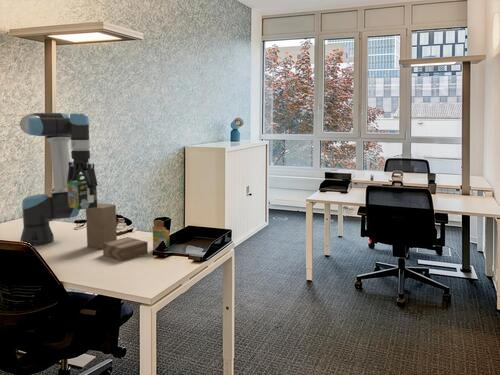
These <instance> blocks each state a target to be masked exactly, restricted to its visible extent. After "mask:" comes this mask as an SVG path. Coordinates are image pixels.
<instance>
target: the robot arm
mask: <svg viewBox="0 0 500 375" xmlns="http://www.w3.org/2000/svg"><path fill="white" fill-rule="evenodd" d="M19 125H20V129H21V130H22V132H23V133H25V134H27V135H30V136H35V137H45V138H46V141H47V142H48V143H49V146H50V156H51V157H50V158H51V167H52V180H53V190H52V192H51V193H50V194H51V196H49V195H48V194H46V193H41V194H40V193H39V194H33V195H29V196H27V197H25V198H23V199H22V202H21V204H22V205H21V209H22V222H23V229H22V233H21V235H20V242H21V241H23V242H27V243H30V244H31V245H30V246H40V245H41V246H42V245H47V244H50V243H52V242H53V241H54V240H55V237H54V233H53V231H52V229H51V226H50V221H52V220H63V219H70V218H76V217H78V215H79V214H80V210H78V209H74V208H70V207H69V206H68V190H67V182H69V181H76V180H77V177H78V174H83V175H84V176H83V178H85V180H86V182H87V185H88V187H87V201H88V203H92V202H94V187H95V186H96V187H98V186H99V184H98V180H97V177H96V171H95V163H93V162H92V163H91V162H90V161H89V160H90V159H91V150H90V148H91V145H90V144H91V142H90V120H89V115H88V114H87V113H78V112H77V113H70V114H68V113H62V112H34V113H30V114H29V113H28V114H26V115H25V116H22V118H21V119H20V122H19ZM69 141H70V148H71V150H70V151H71V155H70V152H69ZM70 156H71V159H70ZM70 160H73V161H70ZM94 183H95V184H94ZM90 184H91V185H90Z"/></svg>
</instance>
